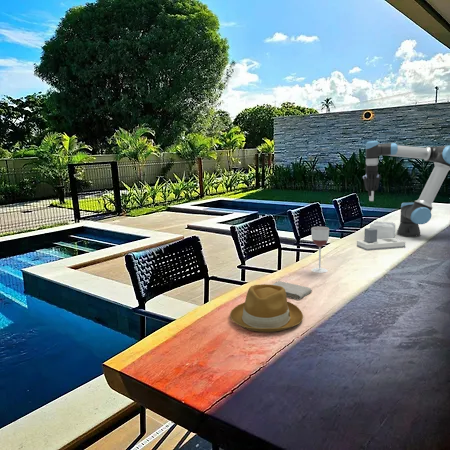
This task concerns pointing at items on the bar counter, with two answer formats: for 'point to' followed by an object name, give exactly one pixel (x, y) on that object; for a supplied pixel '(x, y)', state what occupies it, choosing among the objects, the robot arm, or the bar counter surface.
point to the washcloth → (294, 290)
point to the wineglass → (320, 243)
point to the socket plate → (381, 244)
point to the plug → (370, 235)
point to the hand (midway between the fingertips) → (371, 200)
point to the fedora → (266, 310)
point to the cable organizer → (384, 229)
